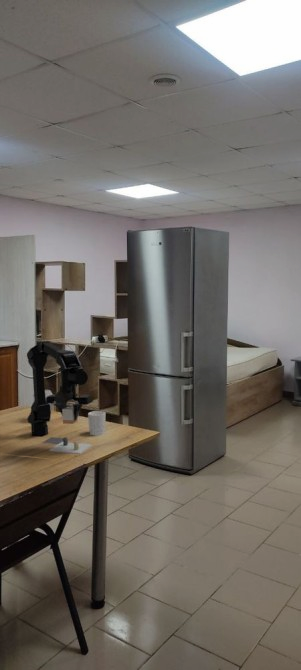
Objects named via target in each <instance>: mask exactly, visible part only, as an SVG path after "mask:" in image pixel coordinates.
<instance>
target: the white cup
mask: <svg viewBox="0 0 301 670" xmlns="http://www.w3.org/2000/svg"><path fill="white" fill-rule="evenodd" d="M106 414H107V413H106V411H101V410H95V411H94V410H93V411H90V412H88V413H87V418H88V419H87V420H88V428H89V429H88V430H89V434H90V436H94V437H98V436H104V435H105V434H106Z"/></svg>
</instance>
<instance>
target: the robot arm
mask: <svg viewBox="0 0 301 670" xmlns="http://www.w3.org/2000/svg"><path fill="white" fill-rule="evenodd" d="M49 356H50V357H52V358H53V359H54V360H55V362H56V364H57V365H58V366H60V367H59V368H58V372H60V380H61V383H60V384H61V385H60V386H59V390H58V391H57V392H56V394H54V393H52V395H50V396H47V398H46V399H45V390H46V386H45V384H46V383H45V373H44V372H45V369H44V368H45V366H46V365H47V363H48V357H49ZM26 358H27V362H28V364H29V366H30V367H31V370H32V380H33V381H32V382H33V383H32V384H33V395H34V397H33V402H32V404H31V406H30V412H29V415H28V416H27V423H28V424H30V425H31V428H30V429H31V435H29V437H37V438H43V437H45V436H47V435H48V434H49V428H48V427H49V426H48V423H49V422H51V420H50V416H51V417H52V409H51V410H50V404H51V405H52V404H53V406H56V407H57V408H58V410H59V411H60V413H61V417H63V414H62V409H63V408H66V407H68V406H67V404H68V403H69V402H71V403H74V404H72V407H74V420H75V421H76V420H77V419H78V417H79V414H80V412H81V409H82V407H83V405H89V404H91V403H93V402H94V399H93V396H92V395H91V394H90V395H88V394H83V395H80V396H78V393H77V387H78V386H83V385H85V384H86V383H87V382H88V380H89V375H88V373H87V372H86V371H85V370H84V368H83V366H82V363H81V361H80V359H79V358H78V355H77V353H76V352H75V351H73V350H67V349H62V348H61V347H59V346H57V345H55V344H53V342H51V341H49V340H42V341H39V342H37V344H36V345H33V347H31V348H29V350H28V351H27V353H26ZM48 403H50V404H48ZM48 421H49V422H48Z"/></svg>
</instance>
